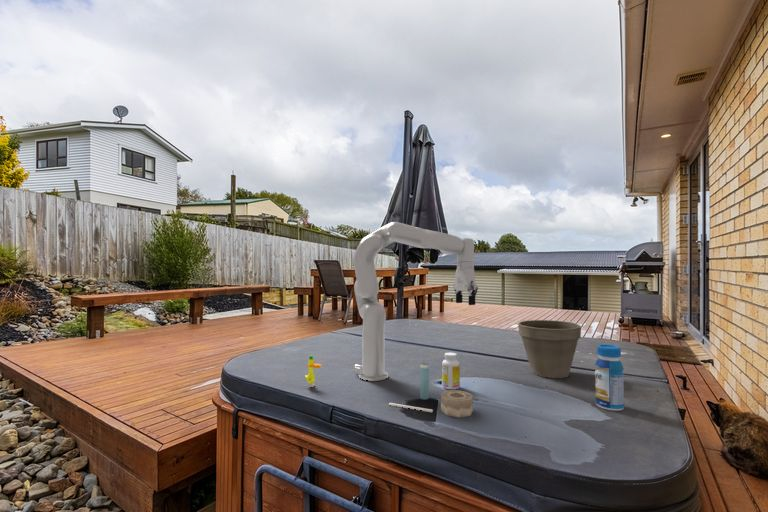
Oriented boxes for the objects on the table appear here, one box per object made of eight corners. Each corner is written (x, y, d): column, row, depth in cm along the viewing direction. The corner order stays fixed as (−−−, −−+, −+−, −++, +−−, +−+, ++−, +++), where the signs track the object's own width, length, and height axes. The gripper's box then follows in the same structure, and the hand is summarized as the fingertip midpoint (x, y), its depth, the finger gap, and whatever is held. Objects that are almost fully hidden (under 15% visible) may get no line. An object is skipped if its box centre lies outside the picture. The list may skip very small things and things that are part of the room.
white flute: (388, 405, 124) (388, 403, 124) (389, 404, 125) (389, 402, 125) (432, 412, 118) (432, 410, 118) (432, 411, 119) (432, 409, 119)
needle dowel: (419, 398, 130) (419, 364, 130) (421, 396, 133) (421, 362, 133) (427, 400, 129) (427, 365, 129) (429, 397, 132) (429, 363, 132)
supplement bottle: (460, 385, 144) (460, 352, 144) (458, 391, 138) (458, 356, 138) (443, 383, 146) (443, 351, 147) (440, 389, 140) (440, 355, 140)
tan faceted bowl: (438, 414, 117) (438, 398, 117) (445, 403, 125) (445, 388, 126) (469, 419, 113) (468, 402, 113) (474, 407, 122) (474, 392, 122)
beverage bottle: (625, 413, 117) (624, 350, 118) (594, 408, 122) (593, 347, 122) (624, 405, 124) (623, 345, 125) (595, 400, 129) (594, 342, 129)
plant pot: (517, 378, 154) (517, 326, 154) (519, 363, 177) (519, 318, 177) (585, 385, 144) (584, 330, 145) (578, 369, 167) (577, 321, 168)
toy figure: (322, 386, 143) (322, 354, 144) (319, 389, 140) (319, 357, 140) (306, 385, 145) (306, 354, 145) (302, 388, 141) (302, 356, 141)
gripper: (447, 265, 173) (447, 302, 172) (469, 265, 157) (469, 306, 156) (461, 265, 176) (461, 301, 175) (484, 265, 160) (484, 305, 159)
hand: (465, 303), depth 166 cm, fingers open, 9 cm apart
